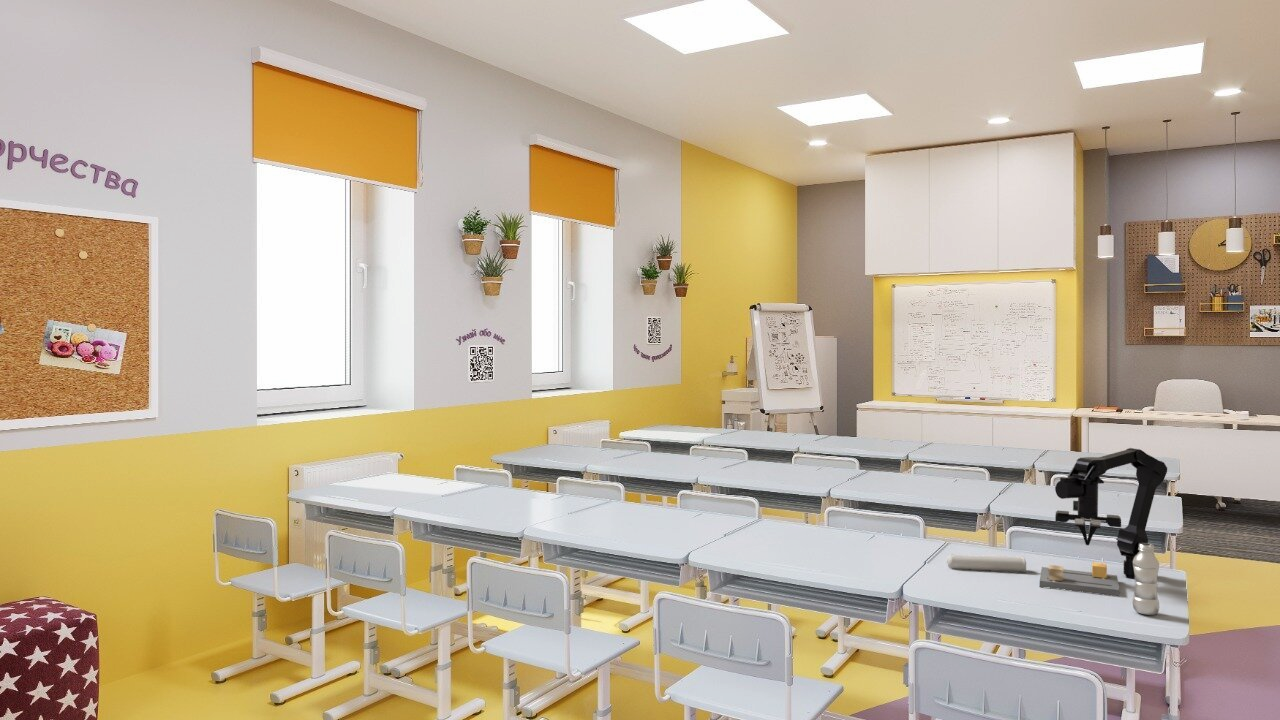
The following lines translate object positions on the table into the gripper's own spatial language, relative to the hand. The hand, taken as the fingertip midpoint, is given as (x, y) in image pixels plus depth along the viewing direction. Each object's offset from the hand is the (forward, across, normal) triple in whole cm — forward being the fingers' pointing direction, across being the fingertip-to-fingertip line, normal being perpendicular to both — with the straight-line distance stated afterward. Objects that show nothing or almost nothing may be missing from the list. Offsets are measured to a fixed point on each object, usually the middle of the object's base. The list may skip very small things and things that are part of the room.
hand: (1087, 545), depth 271 cm
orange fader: (+9, -3, 0) cm, 10 cm away
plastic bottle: (+12, -15, +29) cm, 35 cm away
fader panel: (+12, +2, +5) cm, 13 cm away
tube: (+12, +31, 0) cm, 33 cm away
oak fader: (+10, +9, +10) cm, 16 cm away
